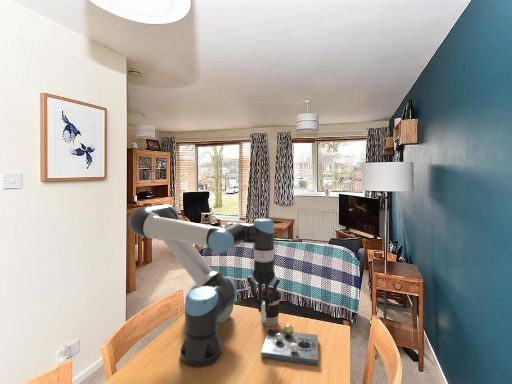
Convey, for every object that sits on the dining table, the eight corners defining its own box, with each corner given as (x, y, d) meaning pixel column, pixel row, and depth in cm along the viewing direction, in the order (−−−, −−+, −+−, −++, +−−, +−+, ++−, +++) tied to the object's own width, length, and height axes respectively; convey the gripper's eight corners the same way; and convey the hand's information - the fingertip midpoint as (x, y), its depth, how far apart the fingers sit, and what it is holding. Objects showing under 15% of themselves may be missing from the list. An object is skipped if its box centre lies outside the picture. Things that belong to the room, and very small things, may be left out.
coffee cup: (279, 329, 126) (279, 295, 125) (256, 326, 128) (256, 293, 127) (281, 318, 136) (282, 286, 135) (260, 316, 138) (261, 284, 137)
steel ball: (274, 343, 112) (274, 335, 111) (275, 338, 115) (275, 330, 115) (282, 344, 111) (283, 336, 111) (283, 339, 114) (283, 331, 114)
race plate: (261, 358, 106) (261, 352, 106) (268, 334, 122) (268, 329, 122) (317, 366, 102) (317, 359, 102) (317, 341, 118) (317, 335, 118)
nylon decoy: (289, 353, 106) (289, 345, 105) (290, 348, 109) (290, 340, 108) (297, 354, 105) (298, 346, 105) (298, 349, 108) (298, 341, 108)
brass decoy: (282, 336, 116) (282, 327, 116) (283, 331, 120) (284, 322, 120) (292, 338, 115) (293, 328, 115) (293, 332, 119) (293, 323, 119)
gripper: (244, 261, 110) (244, 322, 111) (279, 263, 107) (279, 326, 109) (249, 255, 117) (249, 313, 118) (282, 257, 114) (281, 316, 116)
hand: (263, 319), depth 113 cm, fingers closed
